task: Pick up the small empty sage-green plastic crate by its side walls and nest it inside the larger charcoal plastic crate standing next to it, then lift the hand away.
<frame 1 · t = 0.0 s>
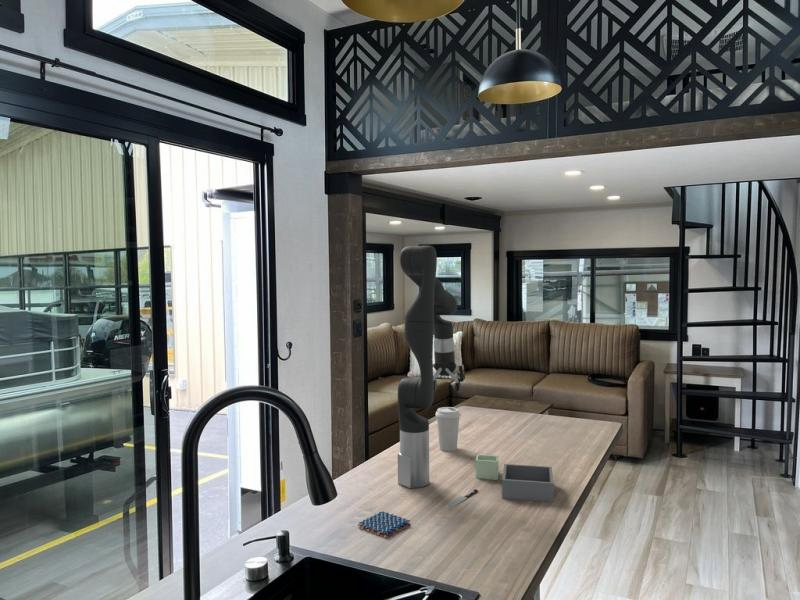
hand: (446, 390, 216), 22 cm above the kitchen island, tool pointing down, fingers open, 8 cm apart
chef's knife: (458, 502, 169), on the kitchen island
charcoal crate: (527, 490, 176), on the kitchen island
woven mat: (384, 528, 153), on the kitchen island
coffee cup: (448, 449, 219), on the kitchen island
sage crate: (487, 476, 190), on the kitchen island
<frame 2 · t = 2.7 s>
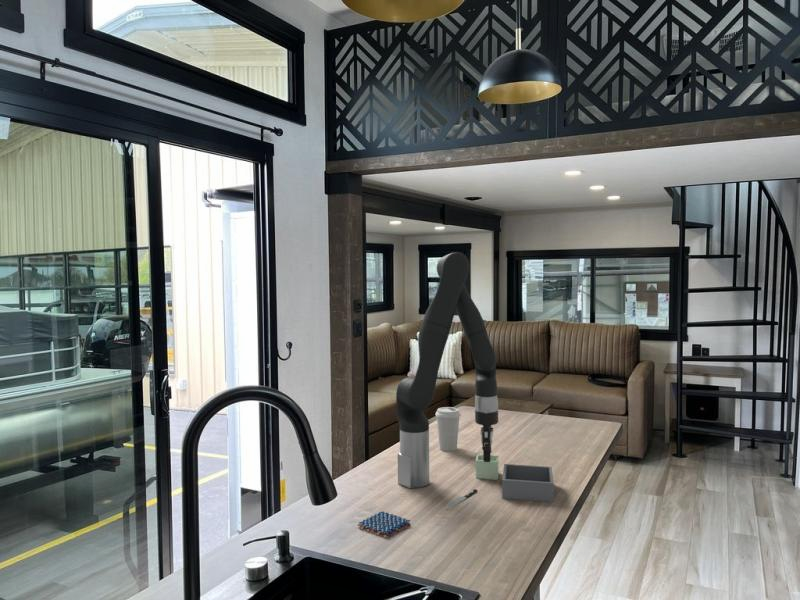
hand: (487, 457, 190), 6 cm above the kitchen island, tool pointing down, fingers open, 8 cm apart
sage crate: (487, 476, 190), on the kitchen island, touching gripper
everything else where it was.
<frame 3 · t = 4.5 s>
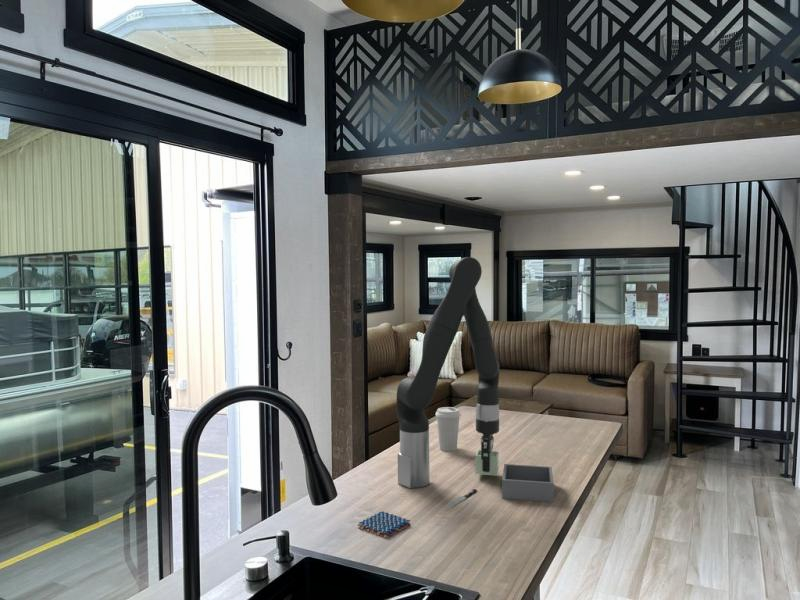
hand: (487, 467, 189), 3 cm above the kitchen island, tool pointing down, fingers closed on sage crate, 6 cm apart
sage crate: (487, 471, 189), point 2 cm above the kitchen island, touching gripper
everything else where it was.
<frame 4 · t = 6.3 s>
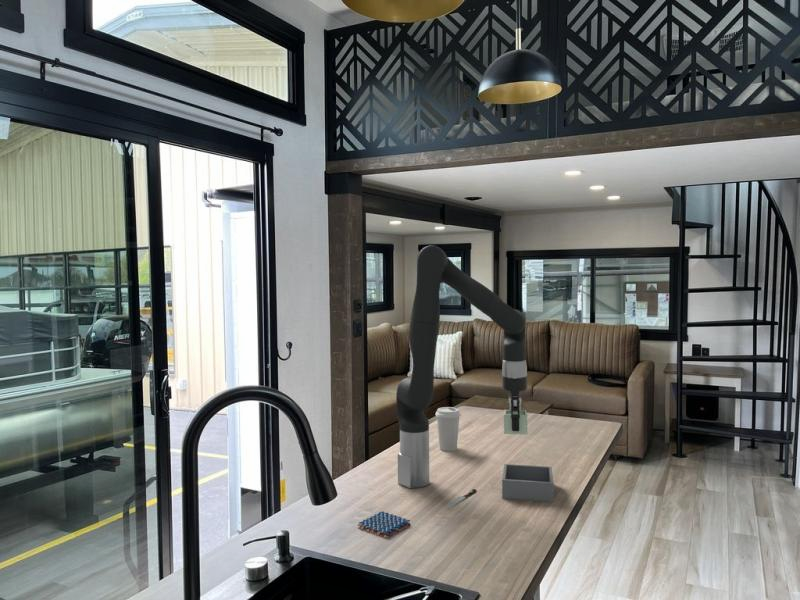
hand: (515, 427, 180), 18 cm above the kitchen island, tool pointing down, fingers closed on sage crate, 6 cm apart
sage crate: (515, 431, 180), point 17 cm above the kitchen island, touching gripper
everything else where it was.
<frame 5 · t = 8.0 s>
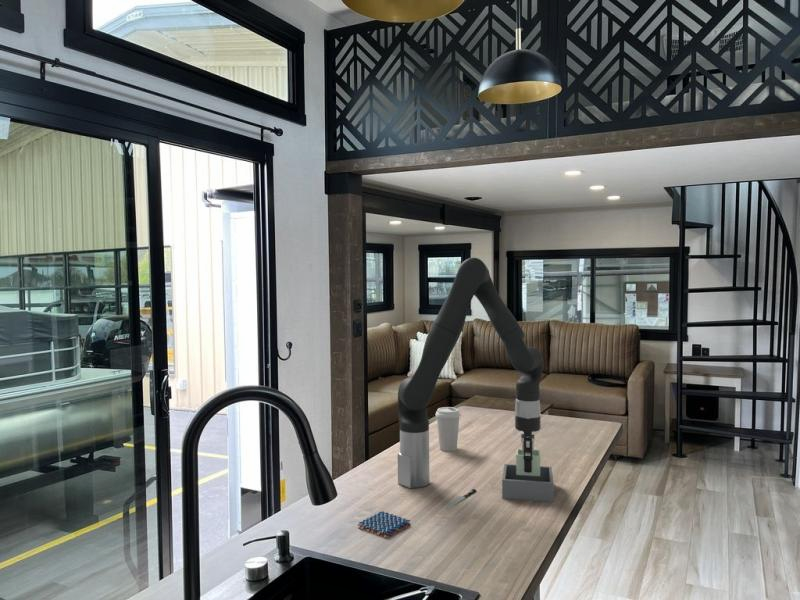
hand: (527, 468, 176), 7 cm above the kitchen island, tool pointing down, fingers closed on sage crate, 6 cm apart
sage crate: (528, 472, 176), point 6 cm above the kitchen island, touching gripper
everything else where it was.
when the fingers open (4 cm above the kitchen island, at t = 9.3 s): sage crate drops 1 cm, resting on charcoal crate.
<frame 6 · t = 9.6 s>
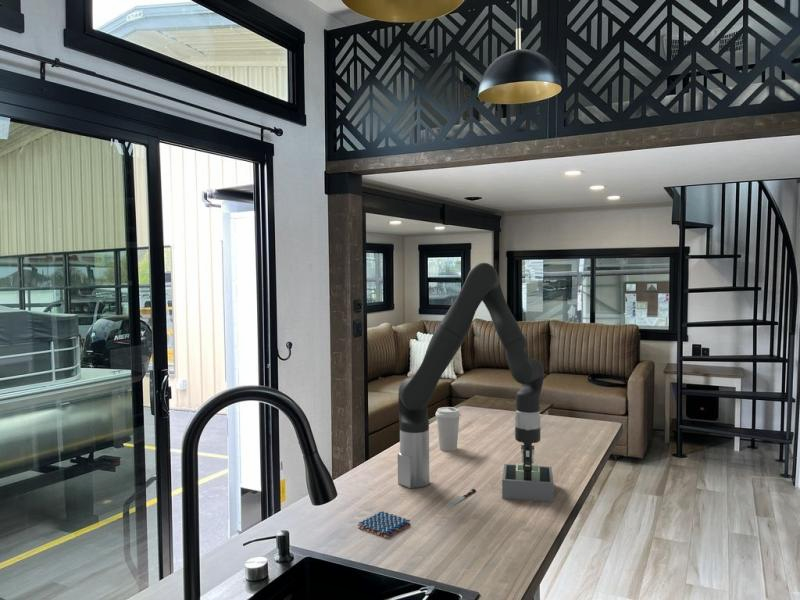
hand: (527, 477, 176), 4 cm above the kitchen island, tool pointing down, fingers open, 8 cm apart
sage crate: (527, 487, 176), point 1 cm above the kitchen island, touching charcoal crate
everything else where it was.
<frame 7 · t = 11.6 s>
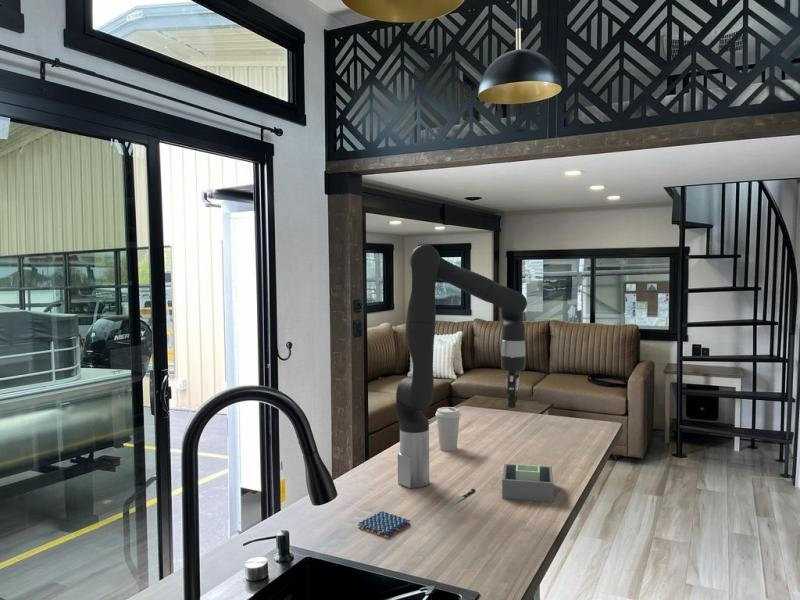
hand: (512, 404, 185), 24 cm above the kitchen island, tool pointing down, fingers open, 8 cm apart
nothing on the kitchen island moved.
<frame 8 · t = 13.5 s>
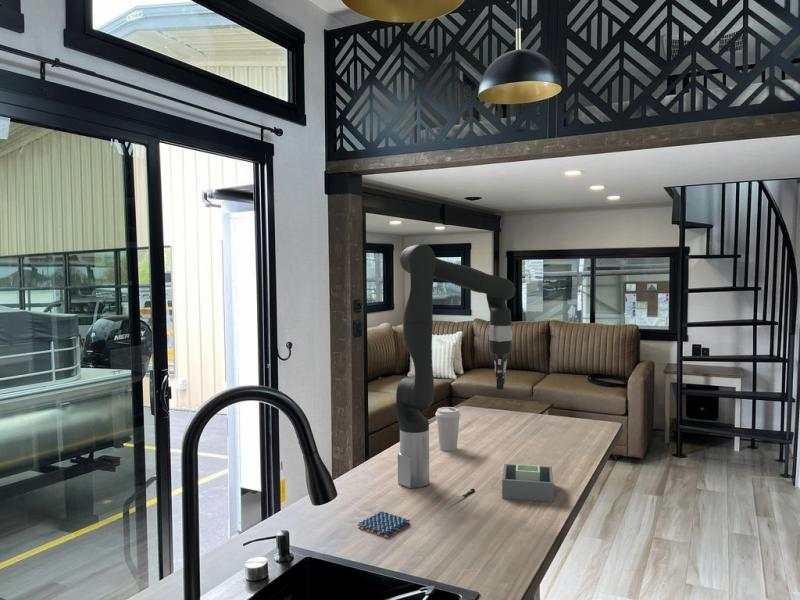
hand: (500, 386, 194), 28 cm above the kitchen island, tool pointing down, fingers open, 8 cm apart
nothing on the kitchen island moved.
at the end: sage crate inside the target area on the charcoal crate (0.1 cm from its centre), point 1.0 cm above the charcoal crate's base; sage crate tilted 0°; the gripper is holding nothing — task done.
